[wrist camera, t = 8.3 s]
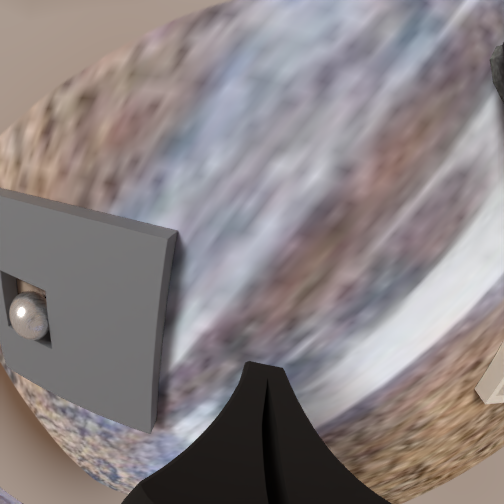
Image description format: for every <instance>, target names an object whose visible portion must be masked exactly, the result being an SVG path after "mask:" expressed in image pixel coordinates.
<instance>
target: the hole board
mask: <svg viewBox="0 0 504 504" xmlns="http://www.w3.org/2000/svg"><path fill="white" fill-rule="evenodd" d="M177 232H178V231H177V230H173V229H169V228H164V227H160V226H156V225H152V224H148V223H144V222H140V221H136V220H132V219H127V218H123V217H119V216H115V215H111V214H107V213H103V212H98V211H94V210H90V209H86V208H82V207H78V206H74V205H69V204H65V203H61V202H57V201H53V200H49V199H45V198H40V197H36V196H32V195H28V194H24V193H19V192H15V191H11V190H7V189H3V188H0V344H1V348H2V351H3V355H4V358H5V362H6V365H7V367H8V368H10V369H11V370H13V371H15V372H16V373H18V374H20V375H21V376H23V377H25V378H26V379H28V380H30V381H31V382H33V383H35V384H37V385H39V386H40V387H42V388H44V389H46V390H48V391H50V392H51V393H53V394H55V395H57V396H59V397H61V398H63V399H65V400H67V401H69V402H71V403H74V404H76V405H78V406H80V407H82V408H84V409H87V410H89V411H91V412H93V413H96V414H98V415H100V416H103V417H105V418H108V419H110V420H113V421H115V422H118V423H120V424H123V425H126V426H129V427H131V428H134V429H137V430H140V431H143V432H146V433H149V434H151V432H152V429H153V427H154V424H155V422H156V419H157V402H158V387H159V374H160V362H161V351H162V341H163V331H164V322H165V314H166V306H167V298H168V290H169V283H170V276H171V269H172V263H173V256H174V250H175V244H176V238H177ZM16 278H18V279H20V280H22V281H25V282H27V283H29V284H31V285H34V286H36V287H38V288H41V289H43V290H45V291H46V302H47V312H48V321H49V329H50V331H49V332H48V333H47V334H46V335H45V336H44V337H42V338H40V339H37V340H28V339H25V338H23V337H21V336H20V335H19V334H18V333H17V332H16V331H15V330H14V328H13V327H12V324H11V321H10V316H9V311H10V306H11V303H12V301H13V300H14V298H15V297H16V296H17V295H18V291H17V282H16Z"/></svg>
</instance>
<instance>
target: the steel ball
mask: <svg viewBox="0 0 504 504" xmlns="http://www.w3.org/2000/svg"><path fill="white" fill-rule="evenodd" d="M9 316H10V321H11V324H12V327H13V328H14V330H15V331H16V332H17V333H18V334H19V335H20V336H21V337H23V338H25V339H28V340H37V339H40V338H42V337H44V336H45V335H46V334H47V333H48V332H49V330H50V329H49V321H48V312H47V302H46V299H45V298H44V297H43V296H42V295H41V294H39V293H37V292H34V291H25V292H22V293H20V294H18V295H17V296H16V297H15V298H14V300H13V301H12V303H11V306H10V311H9Z"/></svg>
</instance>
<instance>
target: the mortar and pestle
mask: <svg viewBox="0 0 504 504" xmlns="http://www.w3.org/2000/svg"><path fill="white" fill-rule="evenodd" d="M490 63H491V70H492V77H493V83H494V85H495V87H496V89H497V91H498V92H499V94H500V96H501V99H502V101H503V103H504V43H503V45H501V46H497V47H496V49H495V51H494V52H493V54H492V56H491V58H490Z"/></svg>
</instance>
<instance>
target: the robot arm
mask: <svg viewBox="0 0 504 504" xmlns="http://www.w3.org/2000/svg"><path fill="white" fill-rule="evenodd" d="M0 504H23V503H21V502H20V501H18V500H16V499H15V498H14V497H13V496H11V495H10V494H8V493H7V492H6V491H4V490H3V489H1V488H0ZM121 504H391V503H390V502H388V501H387V500H385V499H384V498H382V497H381V496H379V495H378V494H376V493H375V492H373V491H372V490H371V489H369V488H368V487H367V486H366V485H364V484H363V483H362V482H361V481H360V480H358V479H357V478H356V477H355V476H354V475H353V474H352V473H351V472H350V471H349V470H348V469H347V468H346V467H345V466H344V465H343V464H342V463H341V462H340V461H339V460H338V459H337V458H336V457H335V456H334V455H333V453H332V452H331V451H330V450H329V449H328V447H327V446H326V445H325V443H324V442H323V441H322V439H321V438H320V437H319V435H318V434H317V432H316V431H315V429H314V428H313V426H312V424H311V423H310V421H309V420H308V418H307V416H306V414H305V413H304V411H303V409H302V407H301V405H300V403H299V402H298V400H297V398H296V396H295V394H294V391H293V389H292V387H291V385H290V383H289V380H288V378H287V376H286V373H285V371H284V369H283V368H280V367H275V366H270V365H265V364H260V363H256V362H251V361H248V362H246V363H245V365H244V368H243V372H242V375H241V378H240V381H239V384H238V386H237V387H236V389H235V391H234V393H233V394H232V396H231V398H230V399H229V401H228V402H227V404H226V405H225V407H224V408H223V409H222V411H221V412H220V414H219V415H218V416H217V417H216V419H215V420H214V421H213V422H212V423H211V425H210V426H209V427H208V428H207V429H206V430H205V431H204V432H203V433H202V434H201V435H200V436H199V437H198V438H197V439H196V440H195V441H194V442H193V443H192V444H191V445H190V446H189V447H188V448H187V449H186V450H185V451H183V452H182V453H181V454H180V455H178V456H177V457H176V458H175V459H173V460H172V461H171V462H169V463H168V464H167V465H165V466H164V467H163V468H161V469H160V470H158V471H156V472H155V473H153V474H152V475H150V476H149V477H147V478H145V479H144V480H142V481H140V482H139V484H138V485H137V486H136V487H135V488H134V489H133V490H132V491H131V492H130V493H129V495H128V496H127V497H126V498H125V499H124V501H123V502H122V503H121Z"/></svg>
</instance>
